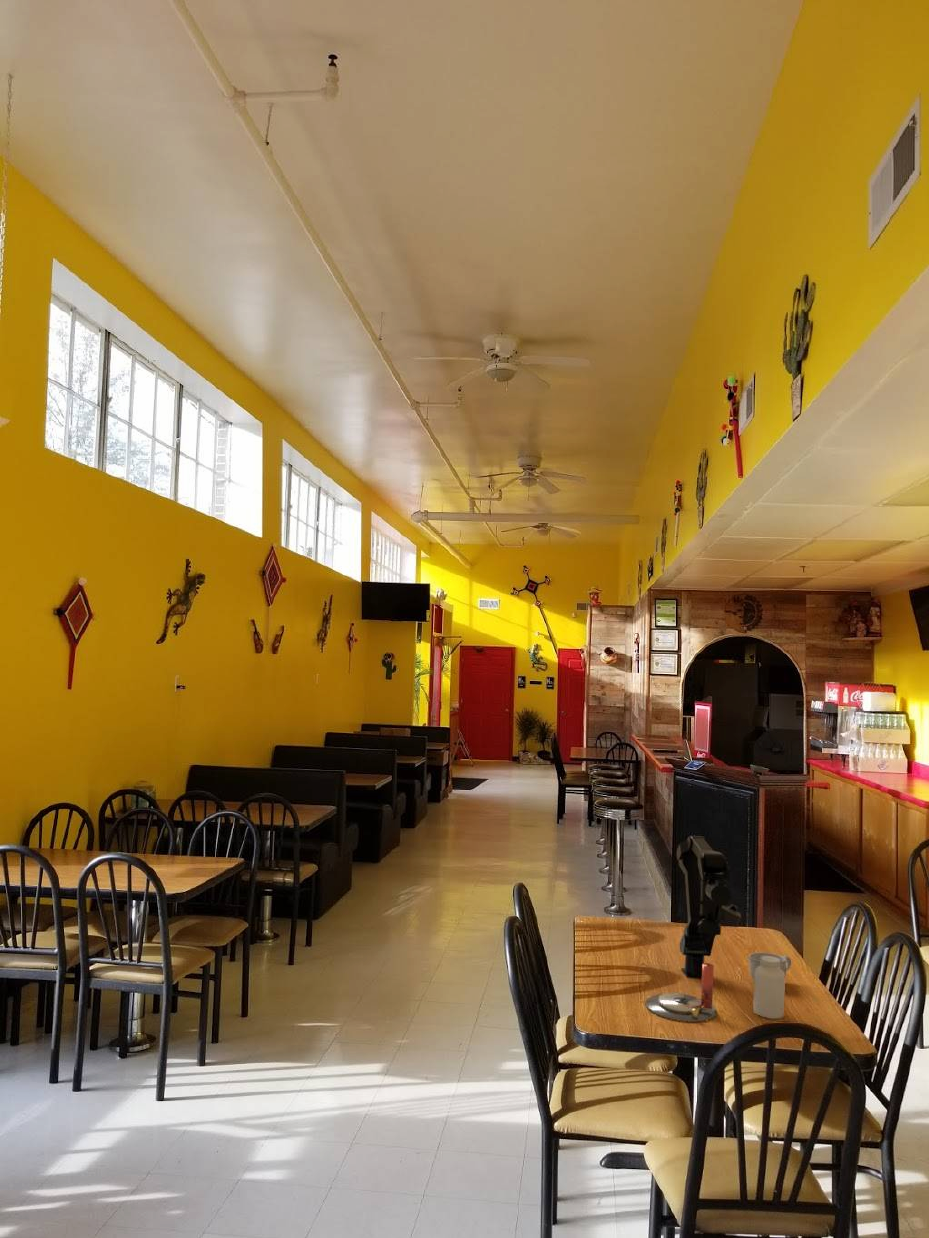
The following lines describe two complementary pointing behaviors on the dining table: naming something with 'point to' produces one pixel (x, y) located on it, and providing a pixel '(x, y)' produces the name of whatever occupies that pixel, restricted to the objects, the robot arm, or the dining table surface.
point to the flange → (687, 1002)
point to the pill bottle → (769, 988)
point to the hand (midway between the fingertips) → (709, 950)
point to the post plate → (658, 1010)
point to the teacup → (756, 956)
